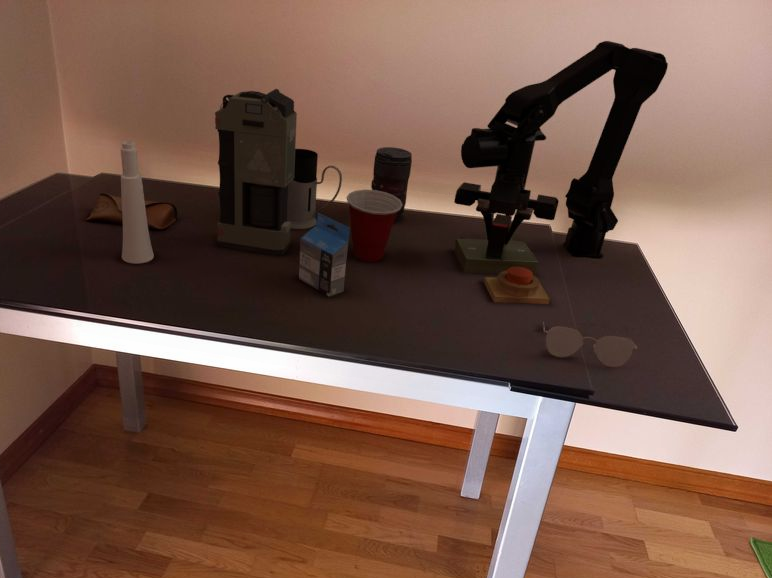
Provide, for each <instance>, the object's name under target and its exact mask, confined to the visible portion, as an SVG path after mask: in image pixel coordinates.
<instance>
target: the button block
mask: <svg viewBox="0 0 772 578" xmlns="http://www.w3.org/2000/svg"><path fill="white" fill-rule="evenodd" d="M507 272H508V270H507V271H503V272H500V274H497V276H496V277H495V276H494V277H493V276H491V277H490V276H484V281H483V284H484V286H485V287H486V289H487V292H488V294H489V295H490V297H491V299H492V301H493V302H494V303H507V304H508V303H509V304H534V305H535V304H536V305H549V304H550V301H551V297H550V296H549V294H548V293H547V292H546V291H545V289H544V287H543V285H542V284H541V281H540V279H539V278H538V277H537V276H536V275H532V279H531V283H530V284H528V285H518V284H514V283H511V282H509V281H507V280H506V277H507Z"/></svg>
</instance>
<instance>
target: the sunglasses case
mask: <svg viewBox="0 0 772 578" xmlns="http://www.w3.org/2000/svg"><path fill="white" fill-rule="evenodd" d="M144 201H145V209H146V217H147V224H148V230H160V231H161V230H165V229H167V228H169V227H170V226H172V225H173V224H174V223H175V222H176V221H177V218H178V209H177V207H176V206H175V204H173V203H172V202H167V201H153V200H147V199H144ZM85 220H86V221H96V222H104V223H108V224H114V225H122V226H123V219H122V198H121V196H118V195H112V194H108V193H102V192H101V193H100V194H99V198H98V199H97V200H96V203H95V205H94V207H93V208H92V210H91V212H90V214H89V216H88V217H87V218H86V219H85Z"/></svg>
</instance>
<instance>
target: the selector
mask: <svg viewBox="0 0 772 578" xmlns="http://www.w3.org/2000/svg"><path fill="white" fill-rule="evenodd" d="M512 221H513V216H506V215H505V214H499V213H496V214H495V216H494V220H493V224H492V226H491V231H490V236H489V241H488V246H487V251H486V254H487V255H492V256H497V257H502V254H503V252H504V249H505V246H506V245H505V242H506V237H507V235H508V232H509V229H510V227H511V224H512Z"/></svg>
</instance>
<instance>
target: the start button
mask: <svg viewBox="0 0 772 578" xmlns="http://www.w3.org/2000/svg"><path fill="white" fill-rule="evenodd" d="M532 275H533V273H532V272H531V271H530V270H529V269H526V268H523V267H511V268H509V269H508V272H507V277H506V280H507V281H509V282H511V283H514V284H518V285H528V284H530V283H531V279H532ZM533 276H534V275H533Z"/></svg>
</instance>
